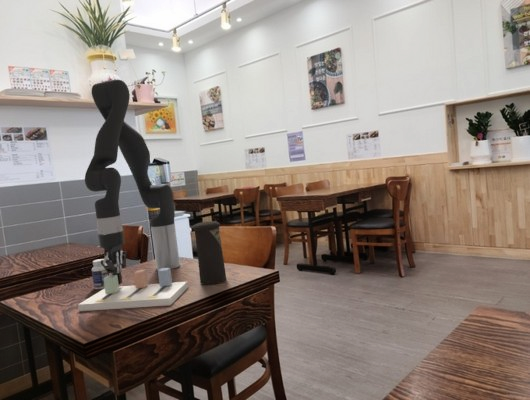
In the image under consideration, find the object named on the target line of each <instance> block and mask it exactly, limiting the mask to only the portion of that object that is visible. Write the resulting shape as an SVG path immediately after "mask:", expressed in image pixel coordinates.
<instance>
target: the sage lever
mask: <svg viewBox="0 0 530 400" xmlns="http://www.w3.org/2000/svg"><path fill="white" fill-rule="evenodd" d="M103 280H104V286H105V288H104V289H105V293H106V294H114V293H116V292H118V291H119V287H120V286H119V285H120V284H118V277H117V275H112V274H109V276H107V277H105V278H103Z"/></svg>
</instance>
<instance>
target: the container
mask: <svg viewBox="0 0 530 400" xmlns="http://www.w3.org/2000/svg"><path fill="white" fill-rule="evenodd" d="M220 226H221V223H220V222H218V221H213V220H212V221H203V222H202V221H201V222H198V223H195V224H194V225H193V226H192V229H193V231H194V235H195V236H194V237H195V243H196V251H197V260H198V261H197V262H198V270H199V273H198V274H199V281H200V284H201V285H206V286H207V285H208V286H209V285H216V284H221V283H223V282H225V281H226V280H227V274H226V267H225V261H224V254H223V247H222V240H221V239H222V238H221V233H220Z"/></svg>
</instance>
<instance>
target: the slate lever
mask: <svg viewBox="0 0 530 400" xmlns="http://www.w3.org/2000/svg"><path fill="white" fill-rule="evenodd" d="M171 270H172V269H170V268H161V269H160V270H157V276H158V282H159V283H158V284H160V286H169V285H171V284H172V283H173V278H172V277H173V276H172V271H171Z"/></svg>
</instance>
